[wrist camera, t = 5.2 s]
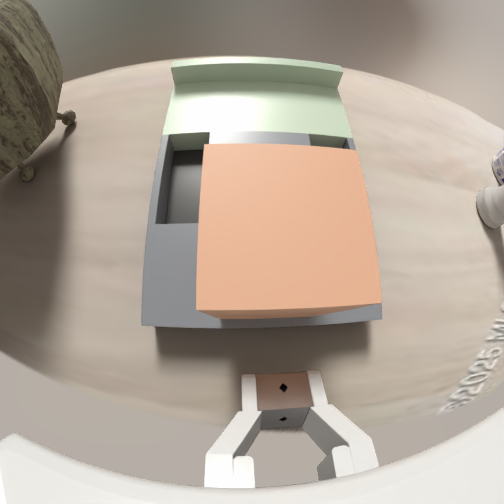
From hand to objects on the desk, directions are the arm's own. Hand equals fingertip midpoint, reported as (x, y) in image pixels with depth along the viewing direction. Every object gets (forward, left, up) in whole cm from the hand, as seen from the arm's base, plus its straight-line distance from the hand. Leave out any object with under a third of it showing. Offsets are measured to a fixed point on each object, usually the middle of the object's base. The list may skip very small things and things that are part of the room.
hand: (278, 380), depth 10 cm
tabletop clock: (-29, 0, -7) cm, 29 cm away
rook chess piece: (+13, +23, -7) cm, 28 cm away
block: (-3, +4, -4) cm, 7 cm away
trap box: (-7, +10, -7) cm, 14 cm away
